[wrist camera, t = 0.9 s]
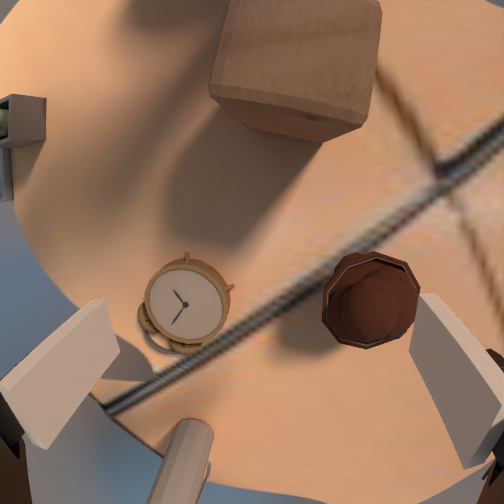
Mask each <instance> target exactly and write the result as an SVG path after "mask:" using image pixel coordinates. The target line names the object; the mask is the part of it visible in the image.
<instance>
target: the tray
mask: <svg viewBox="0 0 504 504" xmlns="http://www.w3.org/2000/svg"><path fill="white" fill-rule="evenodd" d="M13 199H14V197H13V186H12V173H11V152H10V148H4V149H0V202H5V201H9V200H13Z"/></svg>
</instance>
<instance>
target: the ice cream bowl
mask: <svg viewBox="0 0 504 504" xmlns="http://www.w3.org/2000/svg"><path fill="white" fill-rule="evenodd" d="M419 293H420V286H419V284H418V282H417V280H416V278H415V276H414V275H413V273H412V271H411V269H410V268H409V266H408V264H407V262H404V261H401V260H398V259H395V258H392V257H389V256H386V255H384V254H381V253H378V252H375V251H373V252H370V253H367V254H364V255H363V254H360V253H357V252H356V253H353V254H350V255H347V256H344V257H343V258H342V260H341V261H340V262H339V263H338V265H337V266H336V269H335V273H334V275H333V276H332V277H331V278H330V280H329V281H328V282H327V283H326V285H325V286H324V290H323V310H322V322H323V323H324V324H325V326H326V327H327V328H328V330H329V331H330V332H331V333H332V335H333V336H334V337H335V339H336V340H337V341H338V342H339V343H342V344H346V345H350V346H354V347H358V348H363V349H369V348H372V347H375V346H378V345H381V344H384V343H387V342H390V341H392V340H395V339H399V338H400V337H401V336H402V335H403V334H404V333H406V332H407V329H408V328H409V327H410V326H411V324H412V323H413V322H414V321H415V316H416V310H417V304H418V297H419Z"/></svg>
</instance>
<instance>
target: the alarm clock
mask: <svg viewBox="0 0 504 504" xmlns="http://www.w3.org/2000/svg"><path fill="white" fill-rule="evenodd" d="M232 288H234V285H233V284H232V285H228V286H227V284H226V283H225V281H224V279H223V277H222V276H221V275H220V274H219V273H218V272H217V271H216V270H215V269H214V268H213V267H212V266H210V265H208V264H206V263H204V262H202V261H199V260H194V259H190V256H189V253H188V252H186V255H185V259H178V260H174V261H172V262H170V263H168V264H167V265H165V266H164V267H163V268H162V269H161V270H159V271H158V272H157V273H156V274H155V275H154V276H153V277H152V279H151V280H150V281H149V283H148V286H147V288H146V291H145V302H143V303H142V304H141V305H140V306H139V308H138V313H137V315H138V321H139V323H140V325H141V326H142V327H143V331H144V336H145V338H146V340H147V341H148V343H149V344H150V345H151V346H152V347H154V348H155V349H156V350H158V351H160V352H163V353H167V354H174V353H181V354H192V353H195V352H196V351H198V350H199V348H200V347H201V345H202V342H204V341H206V340H209V339H211V338H213V337H214V336H215V335H216V334H217V333H218V332H219V331H220V330H221V329H222V327H223V325H224V323H225V321H226V318H227V314H228V312H229V307H230V300H231V299H230V294H229V290H231V289H232ZM148 332H150V333H158V332H161V333H162V334H163V335H165V336H166V337H168V338H169V343H170V346H171V347H172V348H173V349H166V348H164V347H161V346H160V345H158V344H157V343H155V342H154V341H153V340H152V339H151V337H150V336H149V334H148Z"/></svg>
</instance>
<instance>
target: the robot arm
mask: <svg viewBox="0 0 504 504" xmlns="http://www.w3.org/2000/svg"><path fill="white" fill-rule="evenodd" d="M119 353H120V350H119V346H118V343H117V340H116V336H115V333H114V329H113V326H112V322H111V318H110V315H109V311H108V307H107V303H106V300H103V299H92V300H90V301H89V302H88V303H87V304H86V305H84V306H83V307H82V308H81V309H80V310H79V311H77V312H76V313H75V314H74V315H73V316H71V317H70V318H69V319H68V320H67V321H66V322H65V323H63V324H62V325H61V326H60V327H59V328H58V329H56V330H55V331H54V332H53V333H52V334H51V335H50V336H49V337H47V339H45V340H44V341H43V342H42V343H41V344H40V345H38V346H37V347H36V348H35V349H34V350H33V351H32V352H31V353H29V354H28V355H26V356H25V357H24V358H23V359H22V360H21V361H20V363H18V364H17V365H15V366H14V368H13V369H11V370H10V371H9V372H8V373H7V374H6V375H5V376H4V377H3V378H2V379H1V380H0V504H32V498H31V492H30V486H29V479H28V470H27V461H26V449H25V443H24V440H23V439H22V438H21V437H22V435H23V434H24V433H26V435H27V436H28V437H29V439H30V440H31V442H32V443H33V444H35V445H37V446H39V447H41V448H44V449H46V450H47V449H48V448H49V446H50V445H51V444H52V442H53V441H54V439H55V438H56V437H57V435H58V434H59V432H60V431H61V430H62V428H63V427H64V426H65V424H66V423H67V421H68V420H69V419H70V417H71V416H72V415H73V413H74V412H75V411H76V409H77V408H78V406H79V405H80V404H81V402H82V401H83V400H84V398H85V397H86V396H87V394H88V393H89V392H90V390H91V389H92V388H93V386H94V385H95V384H96V382H97V381H98V380H99V379H100V377H101V376H102V374H103V373H104V371H106V369H107V368H108V367H109V365H110V364H111V363H112V362H113V360H114V359H115V358H116V356H117V355H118V354H119ZM409 353H410V355H411V357H412V359H413V360H414V362H415V364H416V366H417V368H418V370H419V372H420V374H421V376H422V378H423V380H424V382H425V384H426V386H427V388H428V390H429V392H430V394H431V396H432V398H433V400H434V402H435V405H436V407H437V409H438V411H439V413H440V415H441V417H442V420H443V422H444V424H445V426H446V428H447V431H448V433H449V435H450V437H451V440H452V442H453V444H454V447H455V449H456V451H457V454H458V456H459V459H460V461H461V464H462V466H463V469H464V470H465V469H468V468H471V467H474V466H477V465H479V464H482V463H484V462H485V460H486V459H487V458H488V456H489V455H490V453H491V452H492V451H493V453H494V456H495V458H496V459H495V460H494V462H493V463H492V465H491V466H490V467H489V469H488V470H487V471H486V473H485V474H484V476H483V477H482V479H483V480H484V479H485V478H486V477H487V475H488V477H487V479H486V482H485V485H484V487H483V490H482V492H481V495H480V497H479V500H478V502H477V504H504V358H503V357H502V356H501V355H500V354H498V353H497V352H495V351H493V350H492V349H487V350H485V349H484V348H483V347H482V345H481V344H480V343H479V342H478V341H477V339H476V338H475V337H474V336H473V335H472V334H471V332H470V331H469V330H468V329H467V328H466V327H465V325H464V324H463V323H462V322H461V321H460V320H459V319H458V317H457V316H456V315H455V314H454V313H453V312H452V311H451V310H450V309H449V307H448V306H447V305H446V304H445V303H444V302H443V301H442V300H441V299H440V298H439V297H438V296H437V294H436V293H428V294H419V297H418V304H417V310H416V316H415V322H414V327H413V333H412V338H411V343H410V348H409Z"/></svg>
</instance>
